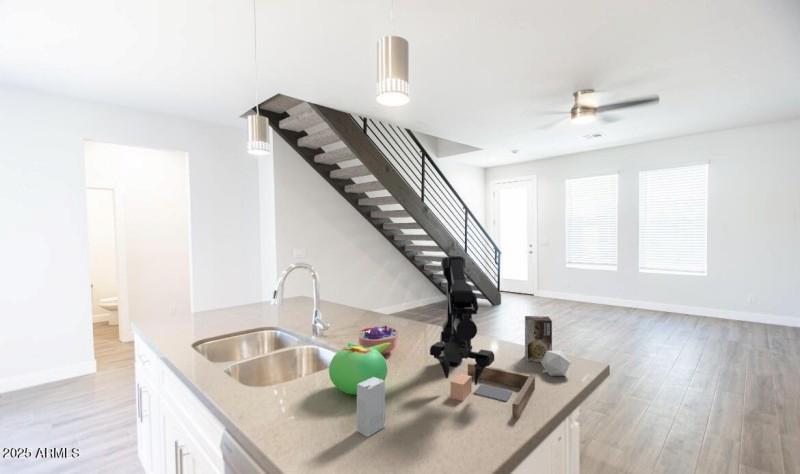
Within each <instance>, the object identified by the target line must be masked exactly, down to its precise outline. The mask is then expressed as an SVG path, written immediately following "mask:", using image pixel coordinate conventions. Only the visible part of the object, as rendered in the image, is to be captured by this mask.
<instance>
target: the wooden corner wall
mask: <svg viewBox="0 0 800 474" xmlns="http://www.w3.org/2000/svg"><path fill="white" fill-rule="evenodd" d="M475 364H476V363H472V362H468V363H467V375H468V376H472V378H475V366H474V365H475ZM479 379H481V380H484V381H485V380H486V381H490V382H496V383H500V384H504V385H508V386H513V387H517V388H521V389H520V390H519V392H518V393H517V395H516V397H515V399H514V400H513V402H512V409H511V410H512V413H511V414H512V415H511V416H512V418H511V419H513V420H517V421H518V420H519V419H520V417H521V415H522V414H523V412H524V410H525V408H526V406H527V404H528V402H529V400H530V399H531V397H532V396H533V393H534V391H535V390H536V376H535V375H533V374H528V373H522V372H519V371H512V370H507V369H502V368H499V367H493V366H486V367H485V368H483V370H482V373H481V375H480V378H479Z"/></svg>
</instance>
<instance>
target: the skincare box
mask: <svg viewBox="0 0 800 474" xmlns="http://www.w3.org/2000/svg"><path fill="white" fill-rule="evenodd" d="M385 384H386V381H384V380H381V379H378V378H375V377H372V378H370V379H368V380H366V381H363V382H361V383H359V384H357V395H356V431H357V432H358V433H360V434H361V435H363V436H365V437H367V438H368V437H370V436H372V435H374V434H376V432H378V431H380V430H381V429H383V428H385V426H386V425H385V420H386V419H385V418H386V416H385V411H386V409H385V408H386V407H385V400H386V399H385V395H386V394H385V393H386V392H385V391H386V390H385V389H386V385H385Z"/></svg>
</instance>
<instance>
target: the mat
mask: <svg viewBox="0 0 800 474" xmlns="http://www.w3.org/2000/svg"><path fill="white" fill-rule="evenodd" d="M513 394H514V393H513V391H511V390H506V389H502V388H497V387H494V386H489V385H485V384H480V385H479V386H478V387H477V389H476V390H475V391H474V392H473V395H477V396H481V397H485V398H489V399H493V400H498V401H501V402H505V403H507V402H508V401H509V399H510V398H511V396H512V395H513Z"/></svg>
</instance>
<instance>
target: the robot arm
mask: <svg viewBox="0 0 800 474" xmlns="http://www.w3.org/2000/svg"><path fill="white" fill-rule="evenodd" d="M466 267H467V266H466V258H464V257H463V256H461V255H450V256H448V257H443V258H442V259H441V260H440V270H441V271H442V274H443V277H444V278H445V279H446V319H445V322H444V323H443V325H442V330H441V331H440V334H439V335H440V336H439V341H437V342H435V343H434V344H432V345H431V346H430V348H429V354H430V356H433V358H434V359H436V360H438V362H439V363H440V365H441V367H442V371H443V373H444V377H445V379H449V376H450V366H451V367H458V366H460V365H461V364H462V362H463V359H466V360H468V358H469V359H473V360H474V361H475V363H474V364H475V365H474V366H475V377H474V386H477V384H478V382H479V379H481V378H480V375H481V373H482V370H483V368H485V367H486V366H488V367H491V365H492V364H493V362H495V354H494V352H493V351H492V350H486V349H480V350H479V351H478V352H477V351H472V350H473V345H472V340H473V338H475V337H476V336H477V334H478V327H477V324H476V323H475V322H474V320H473V317H472V315H478V311H479V304H478V299H477V298H478V297H477V296H476V293H475V292H474V291H473V287H472V285H471V284H469V283H468V282H467V280H466V274H465V270H466Z"/></svg>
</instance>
